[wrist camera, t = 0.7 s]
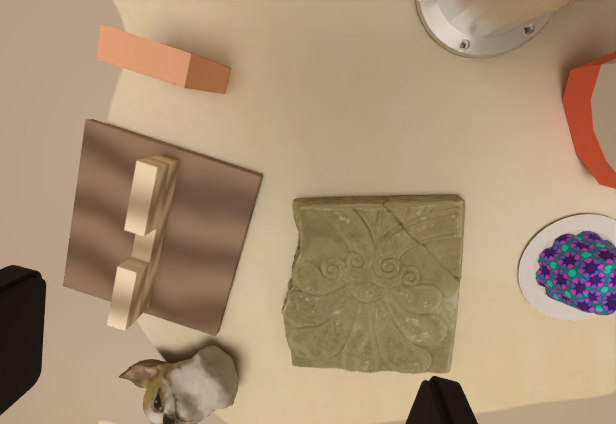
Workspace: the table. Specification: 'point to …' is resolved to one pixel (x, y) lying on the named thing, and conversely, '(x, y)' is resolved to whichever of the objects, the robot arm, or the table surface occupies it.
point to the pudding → (572, 269)
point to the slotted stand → (157, 228)
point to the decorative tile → (375, 283)
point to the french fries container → (594, 116)
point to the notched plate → (160, 61)
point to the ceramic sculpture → (186, 386)
